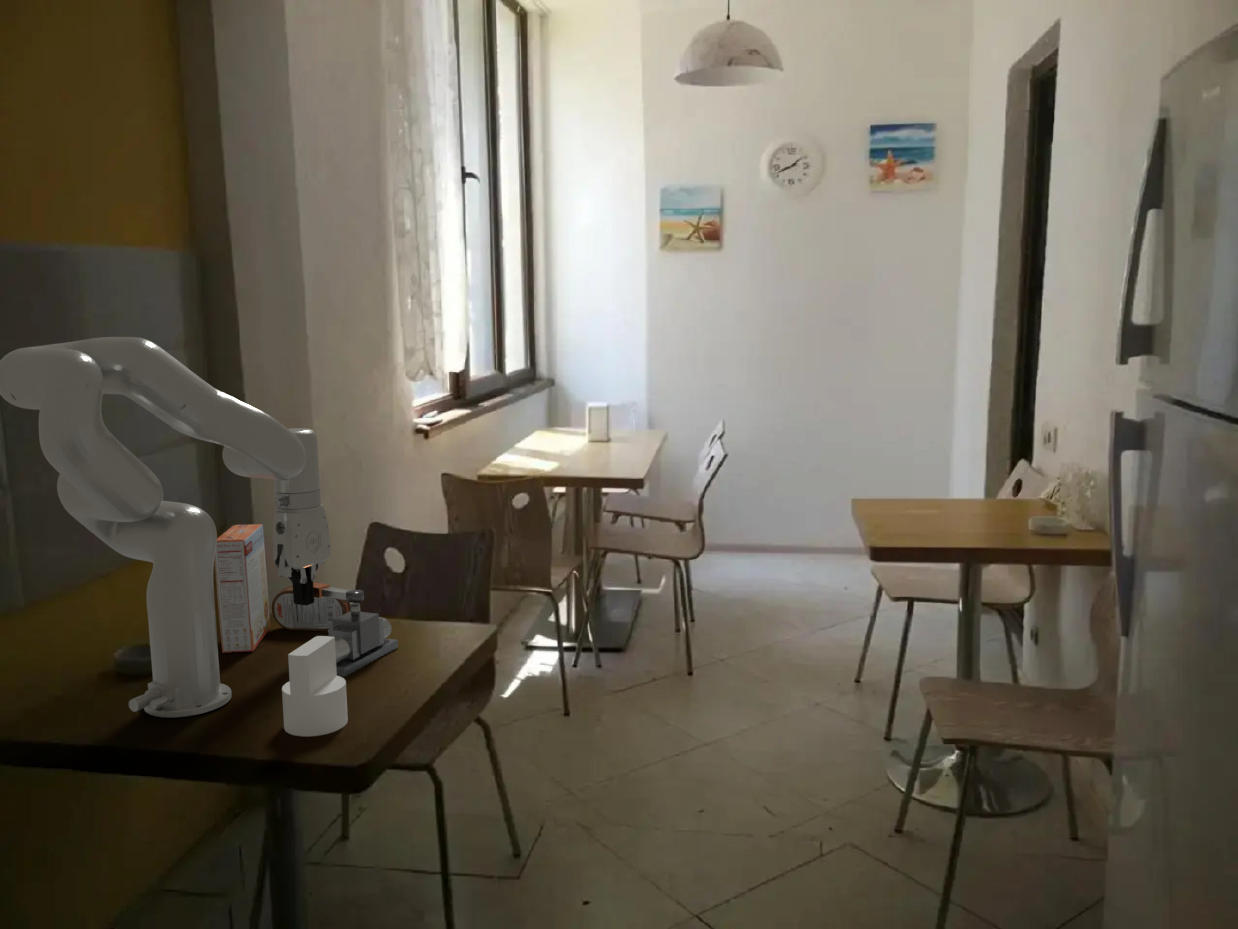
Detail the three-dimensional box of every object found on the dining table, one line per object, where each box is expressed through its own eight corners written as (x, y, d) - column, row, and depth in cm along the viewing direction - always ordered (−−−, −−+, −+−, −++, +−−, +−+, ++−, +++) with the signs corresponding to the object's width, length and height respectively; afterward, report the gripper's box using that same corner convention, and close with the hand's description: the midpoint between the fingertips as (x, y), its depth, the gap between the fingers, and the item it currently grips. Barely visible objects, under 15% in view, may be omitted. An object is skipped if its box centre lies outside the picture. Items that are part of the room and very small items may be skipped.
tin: (352, 628, 195) (350, 585, 194) (346, 633, 192) (344, 590, 191) (277, 626, 197) (275, 584, 196) (270, 631, 194) (268, 588, 193)
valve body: (344, 677, 168) (341, 618, 167) (314, 672, 171) (311, 615, 169) (398, 647, 183) (395, 594, 182) (369, 644, 185) (367, 591, 184)
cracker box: (239, 630, 194) (232, 524, 191) (271, 629, 195) (265, 523, 192) (218, 654, 181) (211, 539, 178) (253, 652, 181) (246, 538, 178)
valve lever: (367, 600, 176) (367, 590, 176) (355, 604, 173) (355, 594, 173) (314, 591, 182) (313, 581, 181) (301, 595, 179) (301, 585, 179)
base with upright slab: (330, 738, 144) (326, 657, 142) (272, 734, 145) (267, 654, 144) (358, 714, 153) (354, 637, 151) (302, 710, 154) (298, 634, 152)
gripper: (286, 509, 166) (292, 617, 168) (343, 494, 179) (348, 594, 182) (249, 506, 168) (256, 613, 171) (309, 492, 182) (314, 590, 185)
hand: (304, 603), depth 177 cm, fingers closed
